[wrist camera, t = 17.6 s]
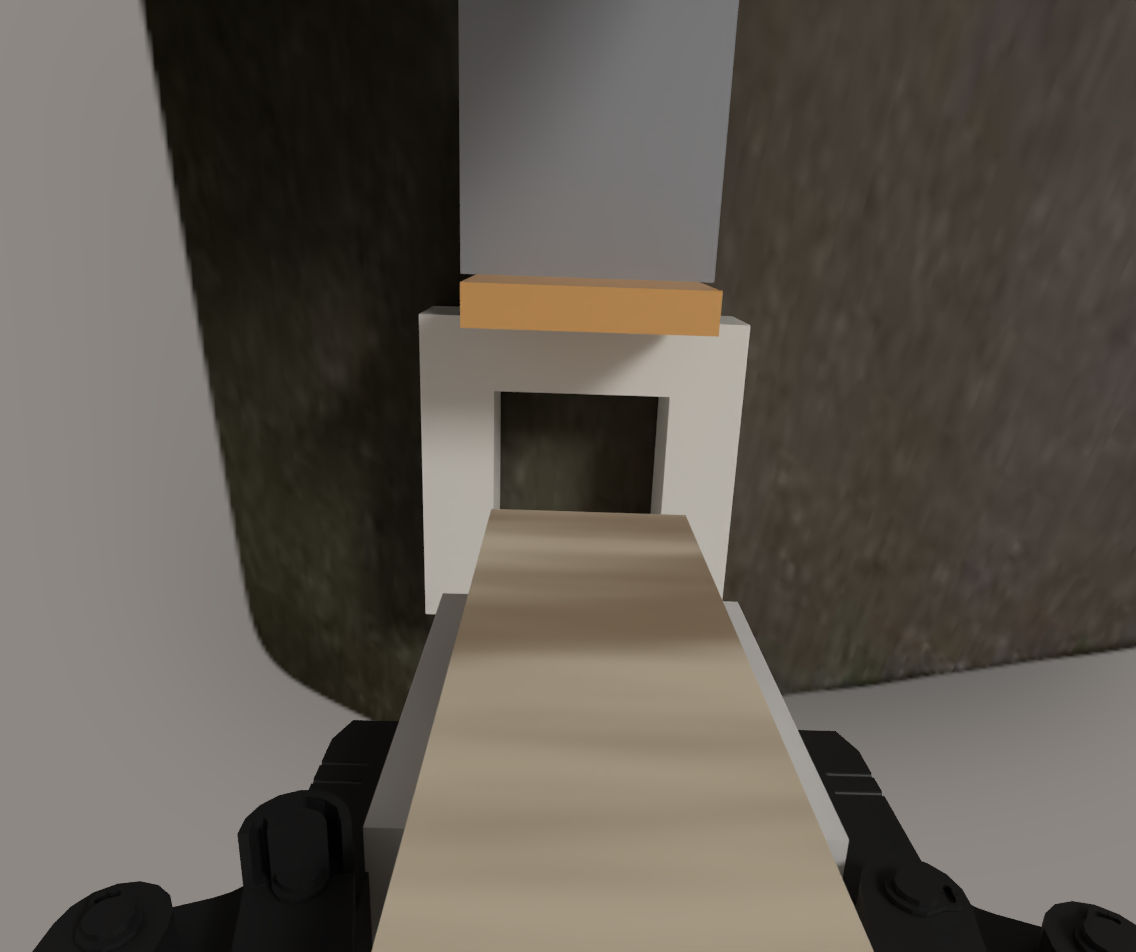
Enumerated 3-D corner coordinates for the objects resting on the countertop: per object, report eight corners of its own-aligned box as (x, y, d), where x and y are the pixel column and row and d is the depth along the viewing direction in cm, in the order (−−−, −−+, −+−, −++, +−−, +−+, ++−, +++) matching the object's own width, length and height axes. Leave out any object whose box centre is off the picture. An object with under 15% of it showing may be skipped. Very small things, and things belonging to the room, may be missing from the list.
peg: (491, 508, 18) (326, 1117, 6) (685, 514, 18) (951, 1130, 6) (490, 680, 19) (355, 1479, 7) (671, 684, 19) (860, 1488, 7)
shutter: (463, 310, 26) (441, 327, 21) (462, -9, 23) (435, -70, 18) (706, 318, 26) (737, 337, 21) (733, 1, 23) (775, -56, 18)
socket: (438, 579, 32) (425, 613, 29) (433, 305, 29) (418, 314, 26) (705, 587, 32) (719, 622, 29) (732, 316, 29) (750, 325, 26)
